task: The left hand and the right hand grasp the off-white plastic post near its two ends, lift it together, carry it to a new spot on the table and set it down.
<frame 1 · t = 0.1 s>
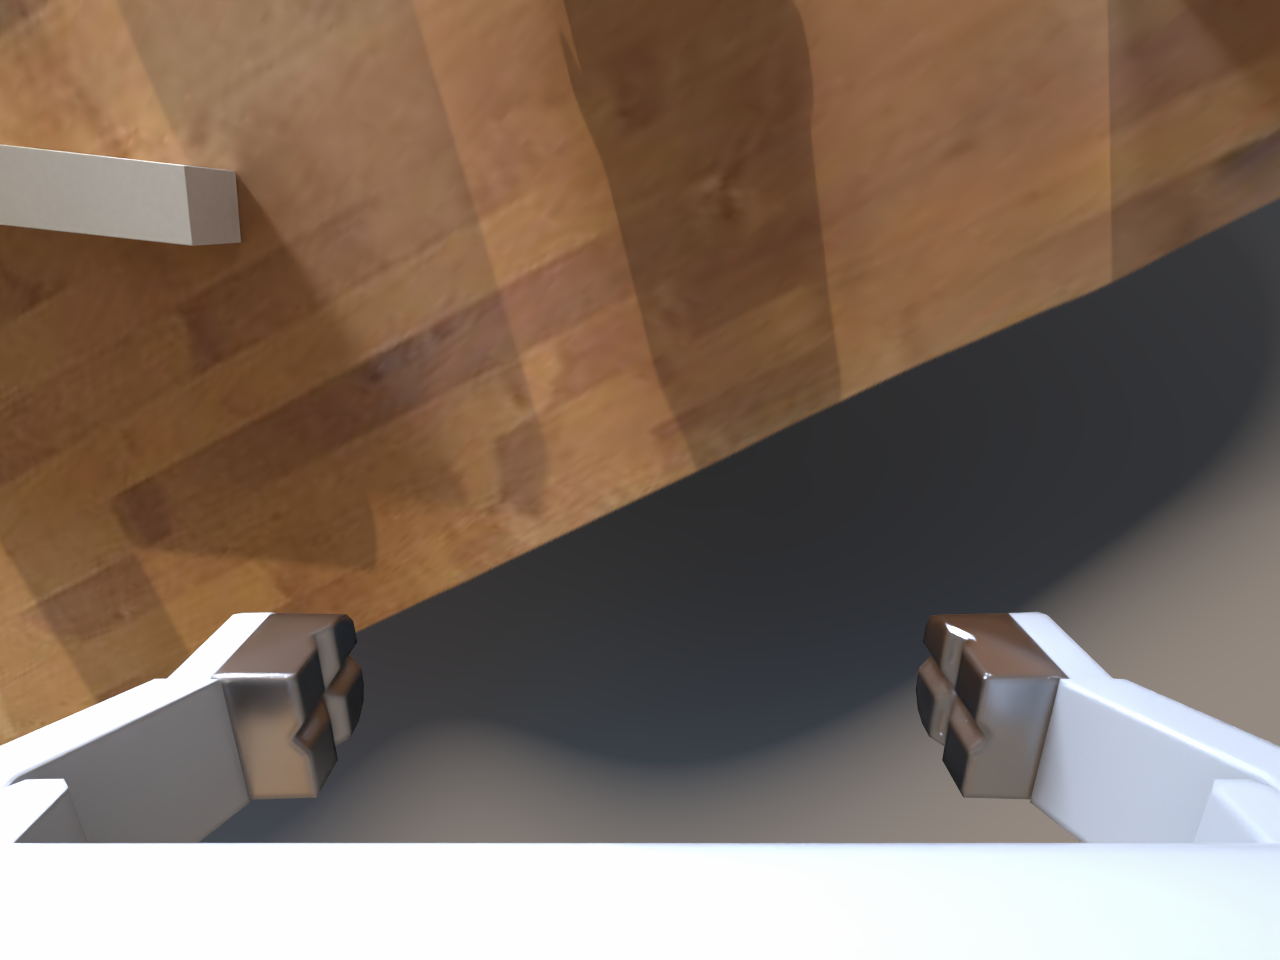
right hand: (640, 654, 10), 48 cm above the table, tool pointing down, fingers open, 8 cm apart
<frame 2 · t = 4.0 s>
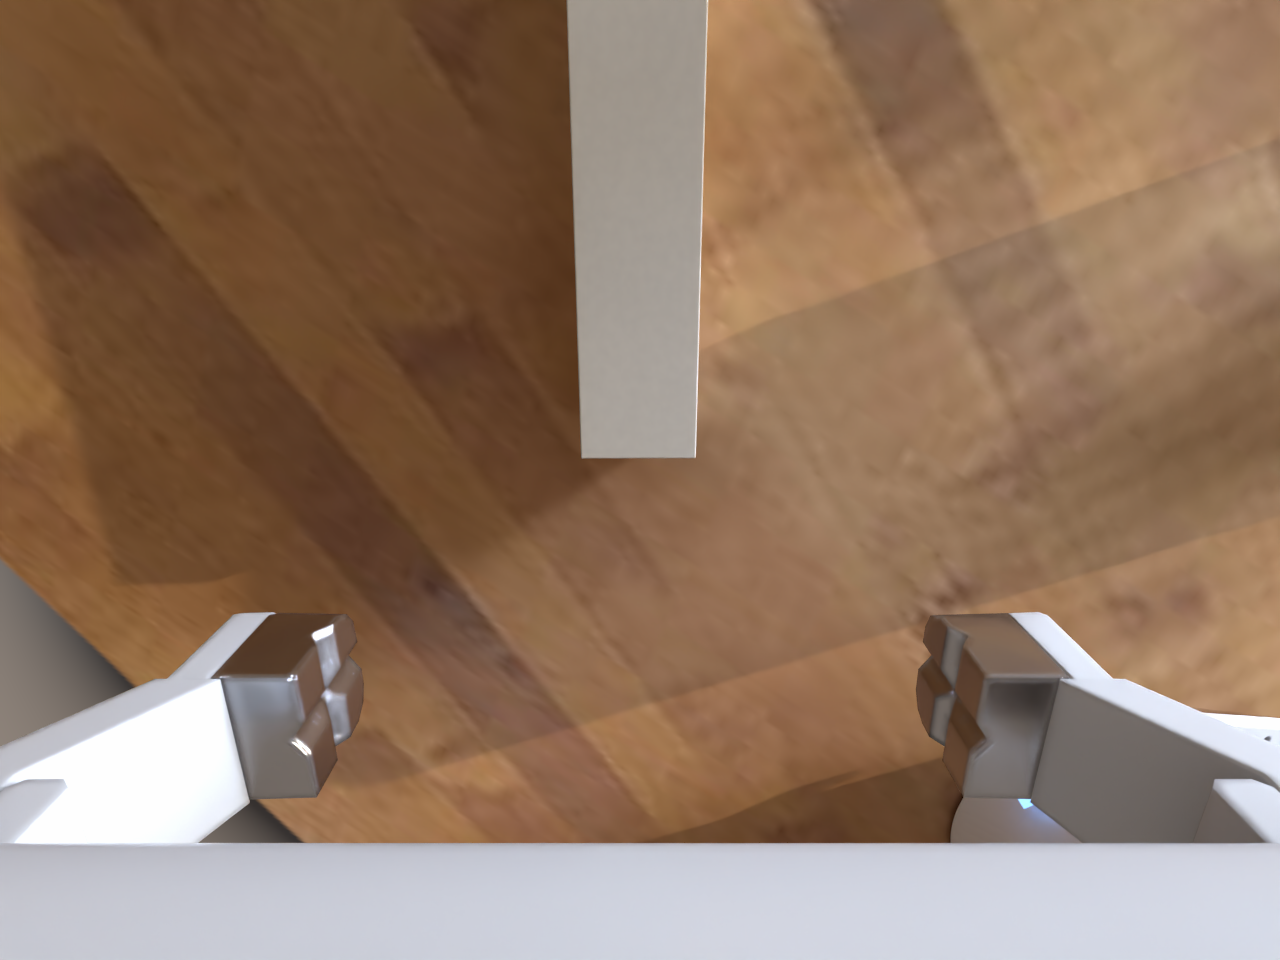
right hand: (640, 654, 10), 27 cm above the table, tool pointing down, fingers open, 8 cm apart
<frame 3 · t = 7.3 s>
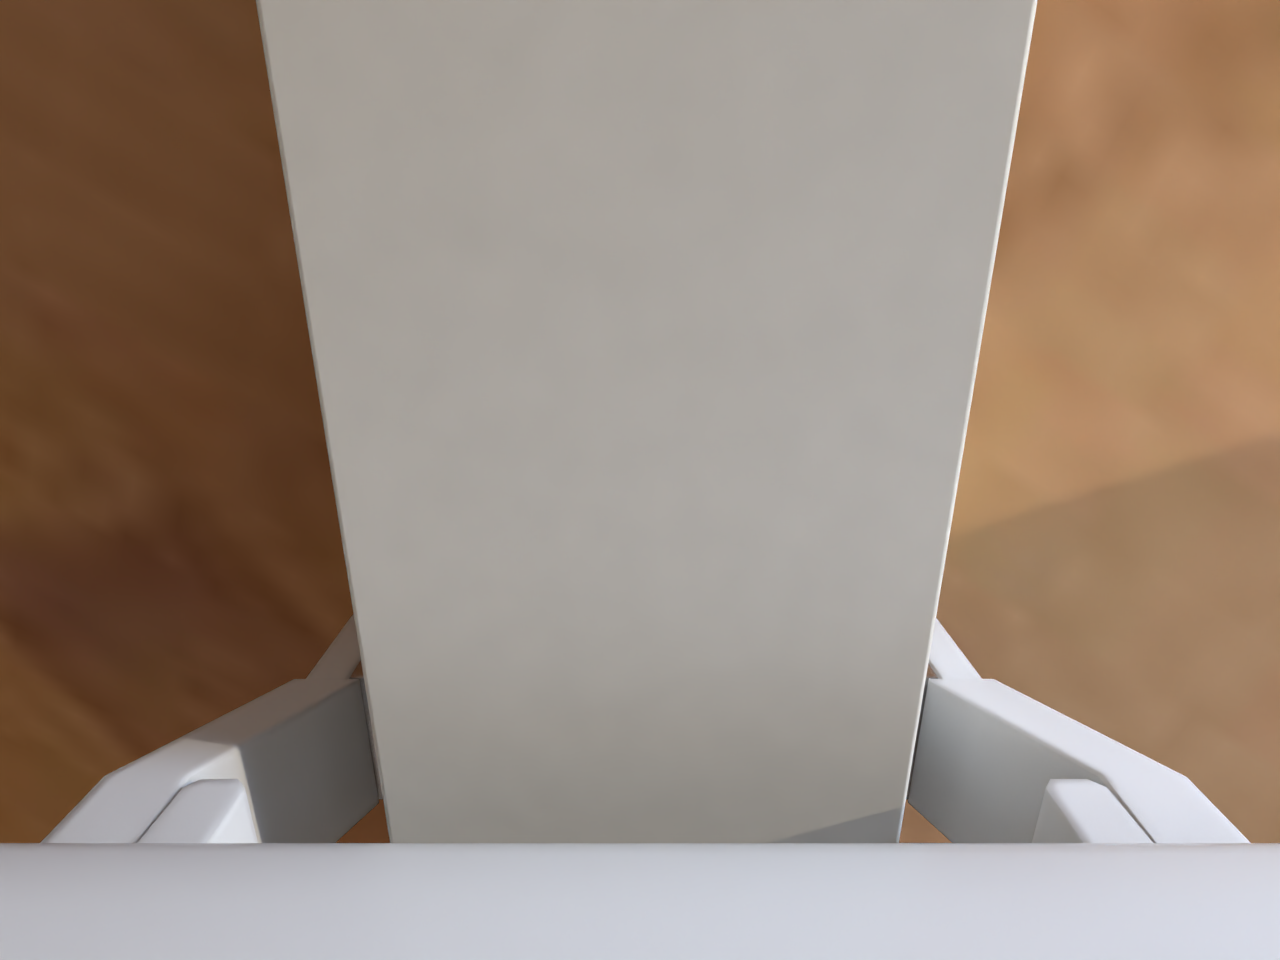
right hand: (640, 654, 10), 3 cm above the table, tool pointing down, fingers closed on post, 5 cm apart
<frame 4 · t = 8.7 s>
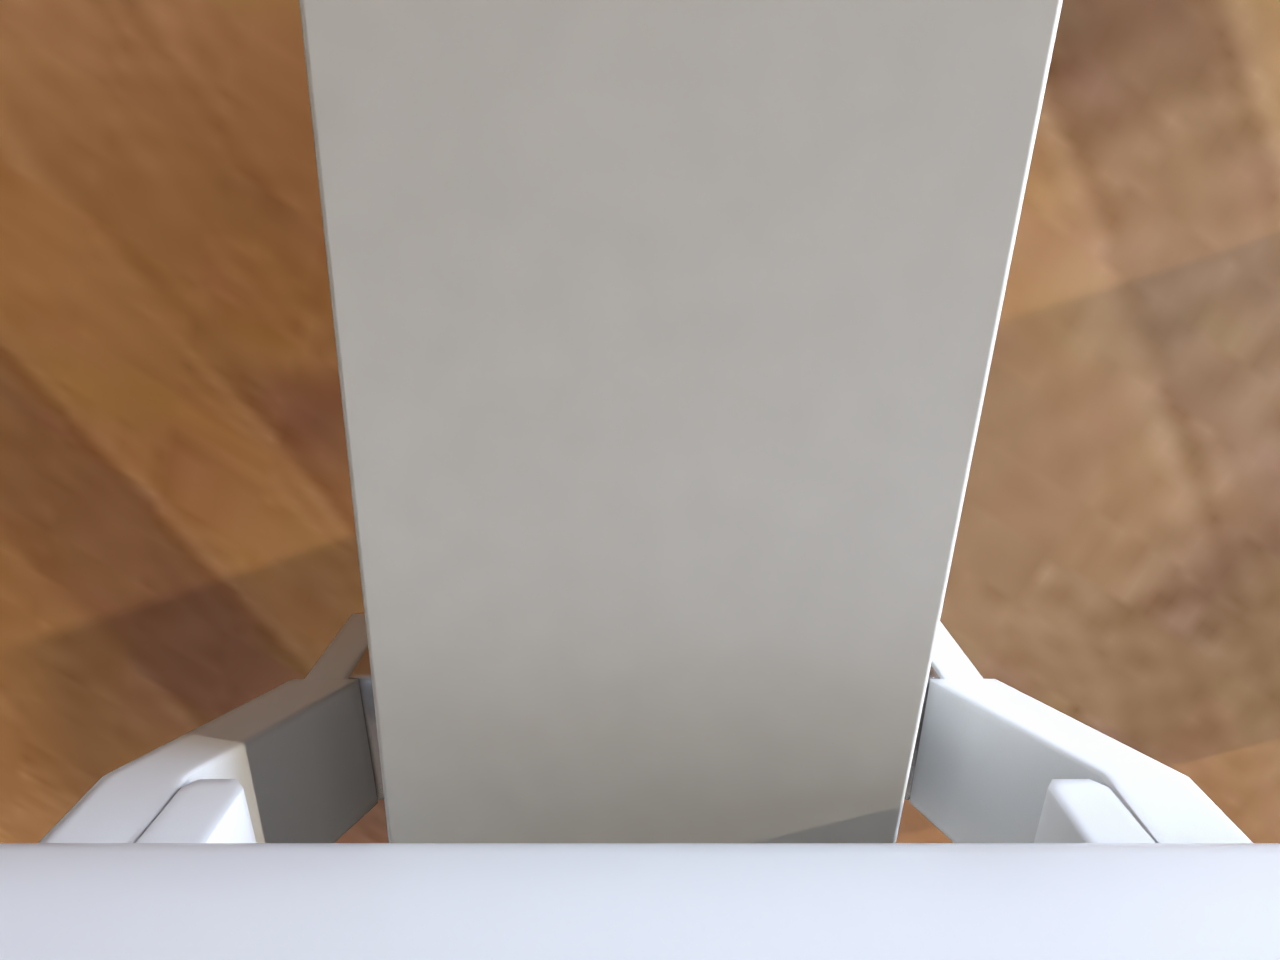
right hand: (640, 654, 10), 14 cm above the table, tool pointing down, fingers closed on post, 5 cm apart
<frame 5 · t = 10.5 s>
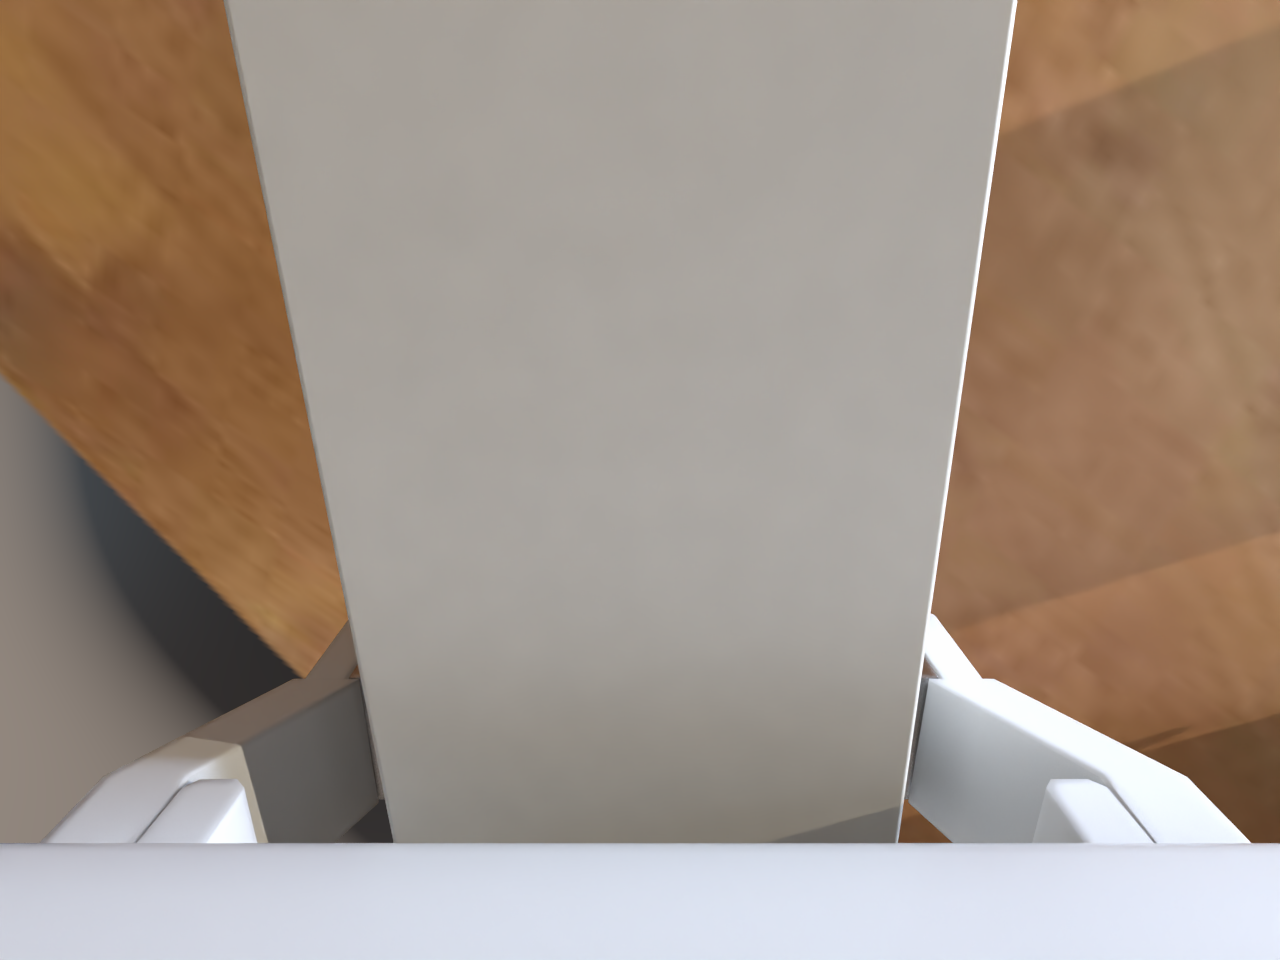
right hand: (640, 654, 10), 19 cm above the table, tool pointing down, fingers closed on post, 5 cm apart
when the left hand's fingers open (4 cm above the table, at t = 13.8 s): post stays where it is, on the table.
when the right hand's fingers open (4 cm above the table, at t = 13.8 s): post stays where it is, on the table.
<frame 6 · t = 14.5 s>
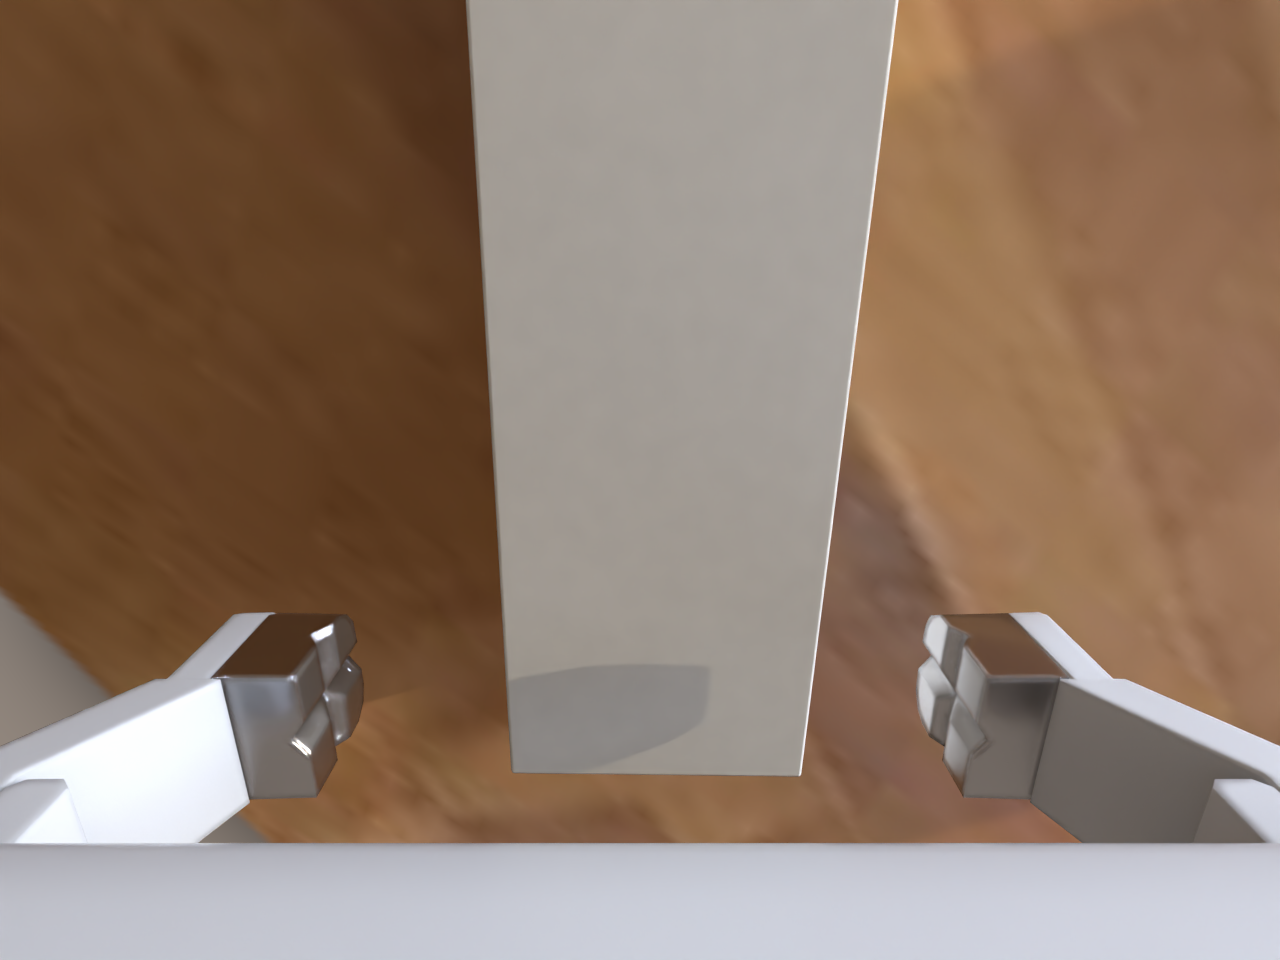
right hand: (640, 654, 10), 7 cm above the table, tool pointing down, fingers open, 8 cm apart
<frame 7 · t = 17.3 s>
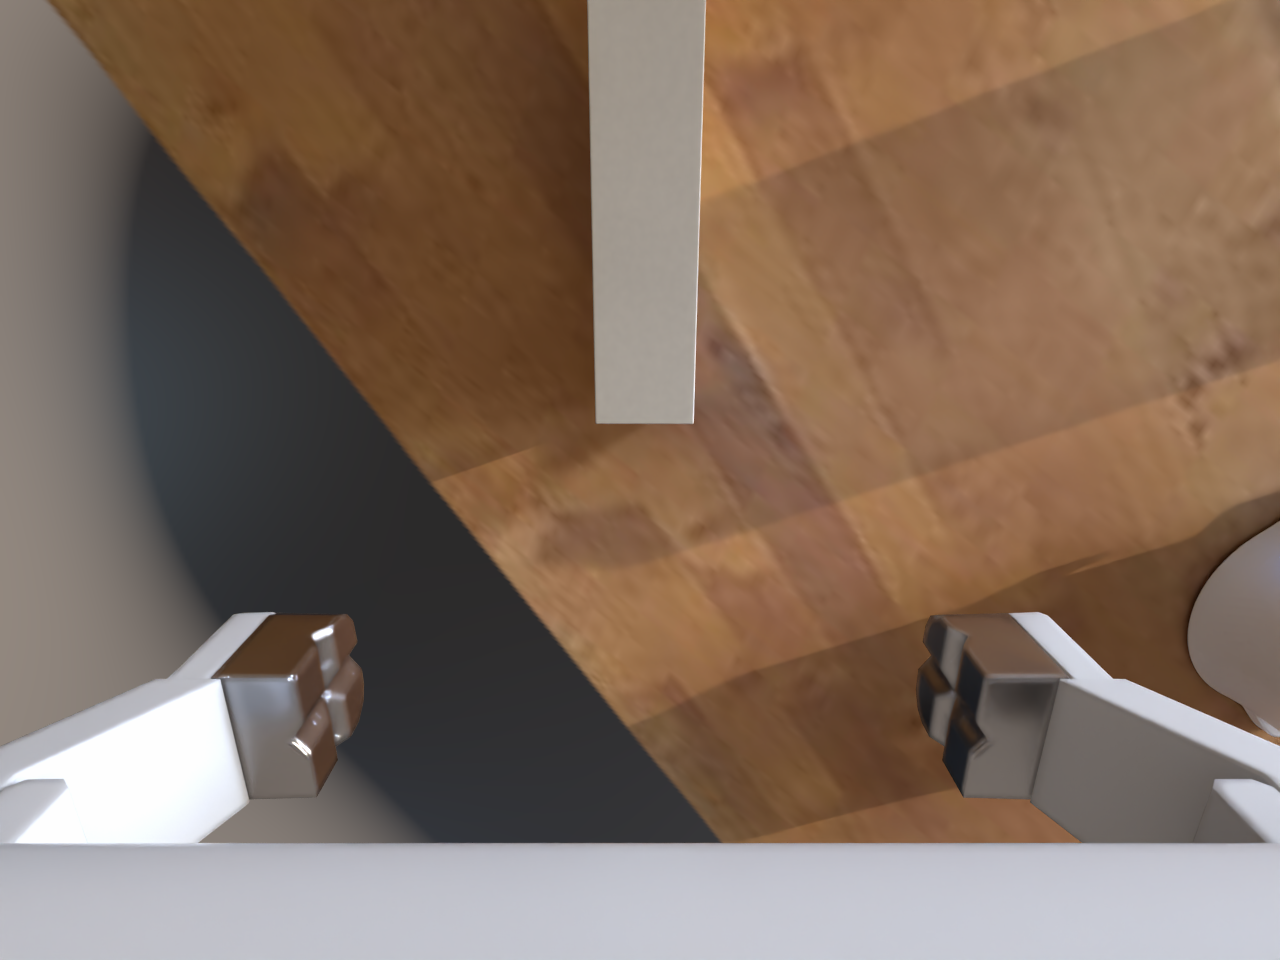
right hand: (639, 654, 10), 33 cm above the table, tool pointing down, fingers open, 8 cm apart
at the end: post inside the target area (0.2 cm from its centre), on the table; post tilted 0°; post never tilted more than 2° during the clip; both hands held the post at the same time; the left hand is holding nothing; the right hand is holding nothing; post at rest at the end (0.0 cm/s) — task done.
